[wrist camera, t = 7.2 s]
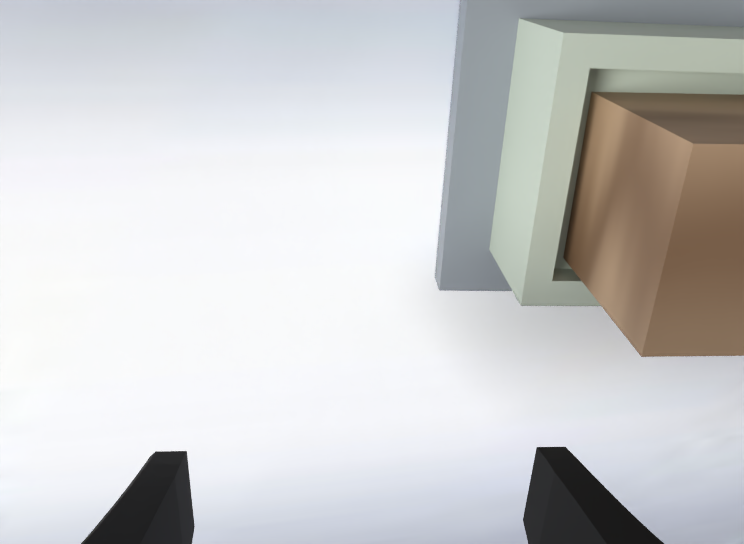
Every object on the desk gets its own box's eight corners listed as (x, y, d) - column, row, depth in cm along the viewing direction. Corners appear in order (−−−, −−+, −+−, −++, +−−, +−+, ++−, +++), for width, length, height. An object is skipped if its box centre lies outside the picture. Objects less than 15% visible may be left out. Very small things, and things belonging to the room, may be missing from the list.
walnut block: (719, 257, 19) (846, 354, 14) (563, 257, 18) (641, 356, 14) (765, 95, 17) (929, 147, 12) (591, 91, 16) (693, 143, 12)
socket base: (712, 279, 23) (799, 352, 19) (434, 276, 23) (460, 352, 18) (803, -29, 19) (941, -24, 15) (464, -44, 18) (506, -44, 14)
